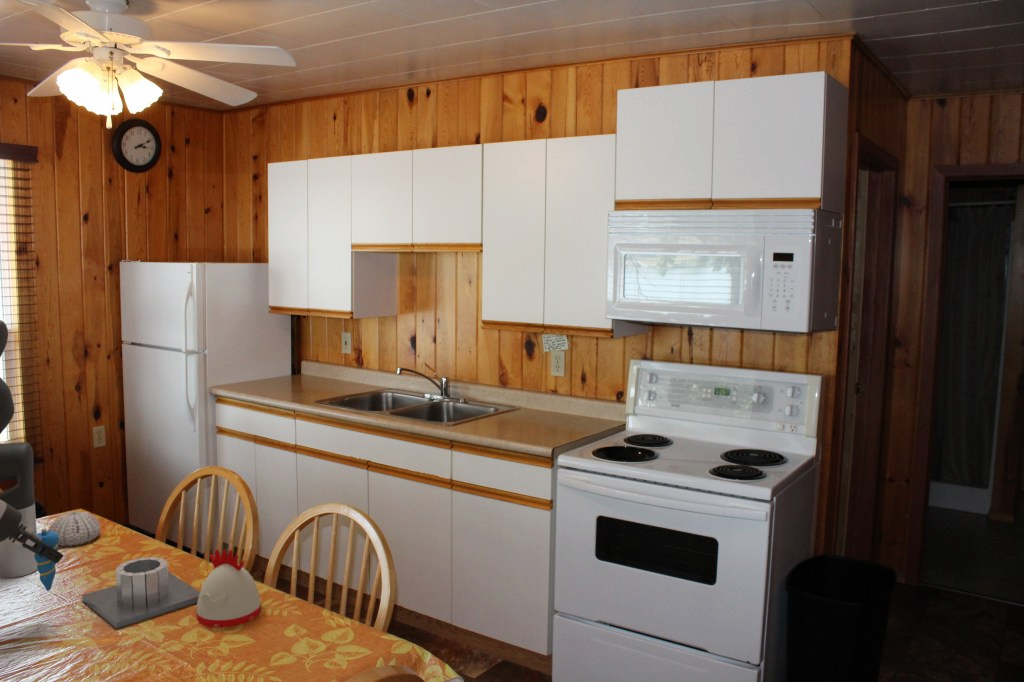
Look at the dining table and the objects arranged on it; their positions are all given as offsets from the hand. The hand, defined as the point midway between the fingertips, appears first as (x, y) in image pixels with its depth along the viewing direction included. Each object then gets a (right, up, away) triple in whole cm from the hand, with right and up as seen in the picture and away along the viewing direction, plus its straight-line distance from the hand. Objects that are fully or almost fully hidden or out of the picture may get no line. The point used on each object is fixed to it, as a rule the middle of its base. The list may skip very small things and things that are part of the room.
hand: (55, 555), depth 183 cm
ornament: (-1, -8, 0) cm, 8 cm away
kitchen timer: (+38, -14, +4) cm, 40 cm away
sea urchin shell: (-21, -8, +48) cm, 53 cm away
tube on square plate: (+16, -13, +9) cm, 22 cm away
